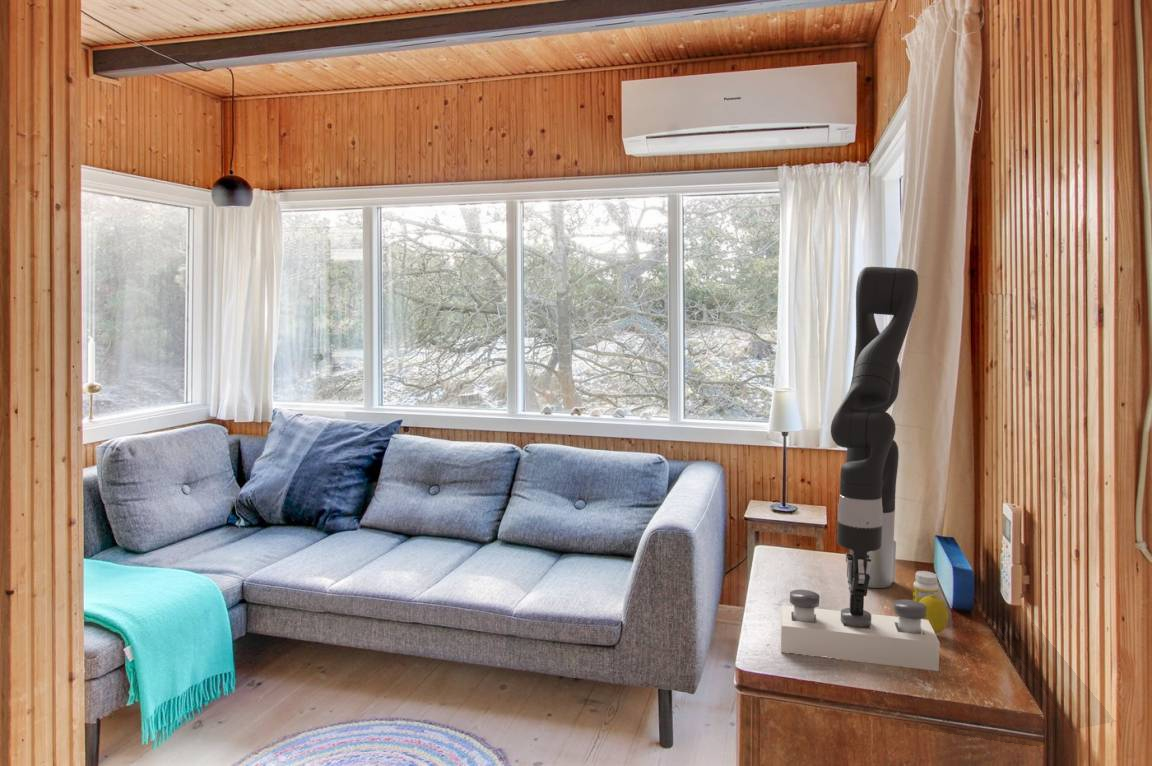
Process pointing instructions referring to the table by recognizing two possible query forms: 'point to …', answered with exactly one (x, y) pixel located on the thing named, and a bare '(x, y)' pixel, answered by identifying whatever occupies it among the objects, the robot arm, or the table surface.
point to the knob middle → (855, 619)
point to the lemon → (935, 612)
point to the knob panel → (860, 640)
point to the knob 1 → (804, 605)
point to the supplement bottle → (925, 585)
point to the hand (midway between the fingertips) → (856, 613)
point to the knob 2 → (909, 615)
